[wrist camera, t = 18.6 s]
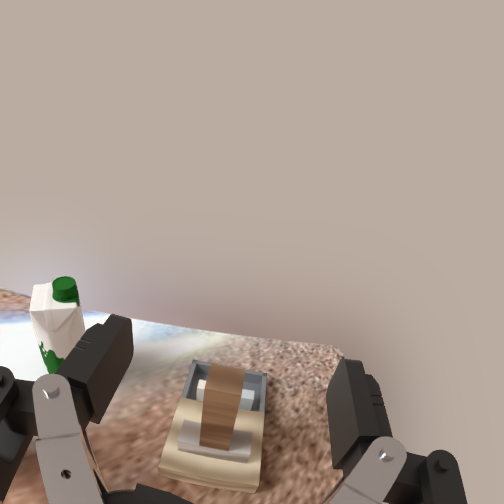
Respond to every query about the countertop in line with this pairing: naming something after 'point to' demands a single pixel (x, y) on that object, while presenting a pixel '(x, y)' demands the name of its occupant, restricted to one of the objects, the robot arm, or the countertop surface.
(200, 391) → the tile
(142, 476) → the countertop surface
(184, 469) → the light wood board
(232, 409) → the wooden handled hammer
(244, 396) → the tile
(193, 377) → the tray
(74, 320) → the milk carton
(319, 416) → the countertop surface
